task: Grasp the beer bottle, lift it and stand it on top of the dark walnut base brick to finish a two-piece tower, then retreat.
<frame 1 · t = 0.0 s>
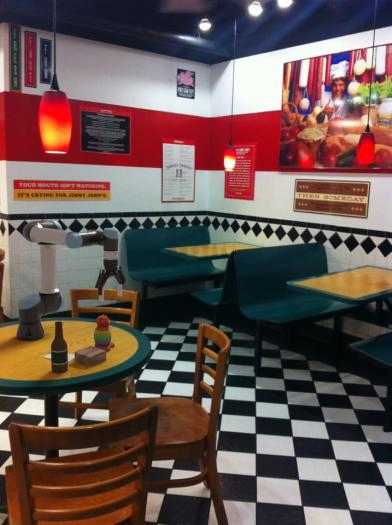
hand: (110, 298, 264), 28 cm above the table, fingers open, 13 cm apart
beer bottle: (59, 371, 241), on the table
stacking bear: (103, 348, 272), on the table
walnut base brick: (90, 360, 254), on the table
instruction page: (61, 356, 258), on the table
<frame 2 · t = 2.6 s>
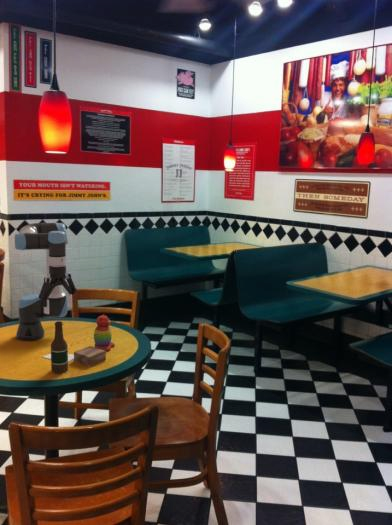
hand: (58, 310, 235), 30 cm above the table, fingers open, 13 cm apart
nothing on the table moved.
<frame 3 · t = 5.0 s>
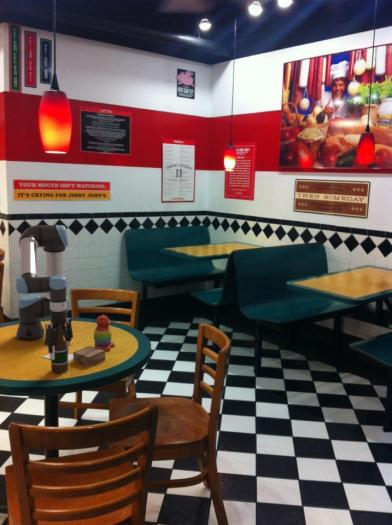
hand: (59, 356, 239), 7 cm above the table, fingers closed on beer bottle, 8 cm apart
beer bottle: (59, 371, 241), on the table, touching gripper
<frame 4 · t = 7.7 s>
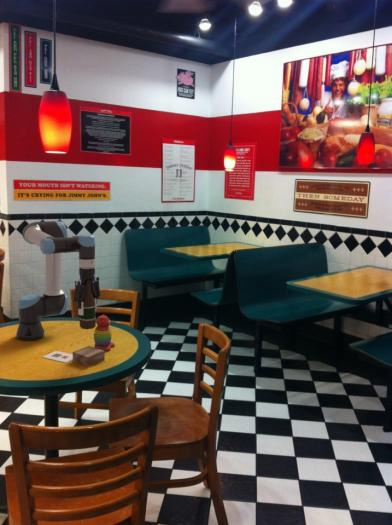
hand: (87, 312, 248), 25 cm above the table, fingers closed on beer bottle, 8 cm apart
beer bottle: (87, 327, 250), point 18 cm above the table, touching gripper
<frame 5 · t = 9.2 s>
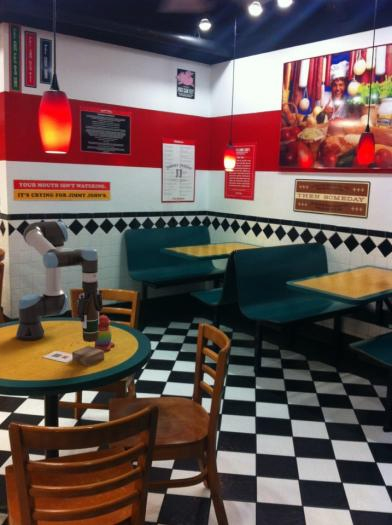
hand: (90, 325, 251), 18 cm above the table, fingers closed on beer bottle, 8 cm apart
beer bottle: (90, 340, 252), point 11 cm above the table, touching gripper
when the fingers open (13 cm above the table, at t = 10.6 s): beer bottle drops 1 cm, resting on walnut base brick.
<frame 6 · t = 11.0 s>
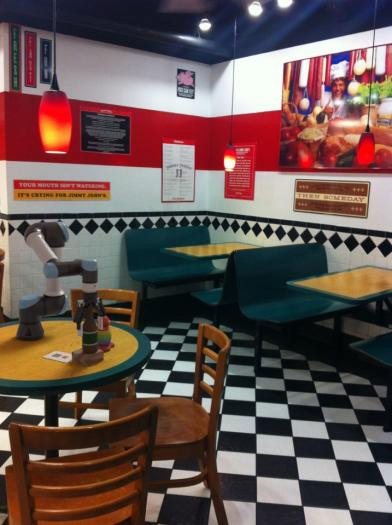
hand: (90, 332, 251), 15 cm above the table, fingers open, 13 cm apart
beer bottle: (90, 351, 253), point 5 cm above the table, touching walnut base brick
walnut base brick: (87, 360, 254), on the table, touching beer bottle
everything else where it was.
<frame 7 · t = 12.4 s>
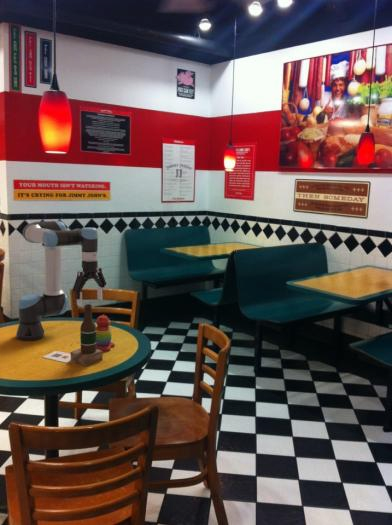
hand: (89, 302, 249), 30 cm above the table, fingers open, 13 cm apart
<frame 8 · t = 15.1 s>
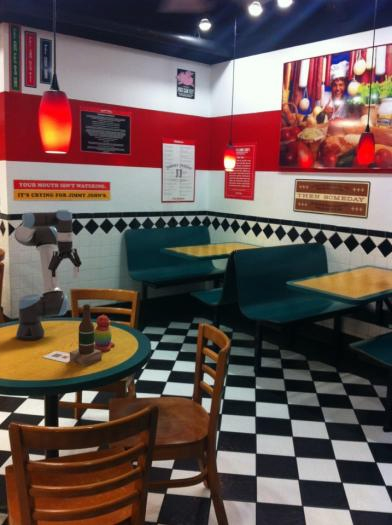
hand: (65, 281, 263), 37 cm above the table, fingers open, 13 cm apart
beer bottle: (86, 351, 253), point 5 cm above the table, touching walnut base brick
at the end: beer bottle inside the target area on the walnut base brick (0.4 cm from its centre), point 4.8 cm above the walnut base brick's base; beer bottle tilted 1°; the gripper is holding nothing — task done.
